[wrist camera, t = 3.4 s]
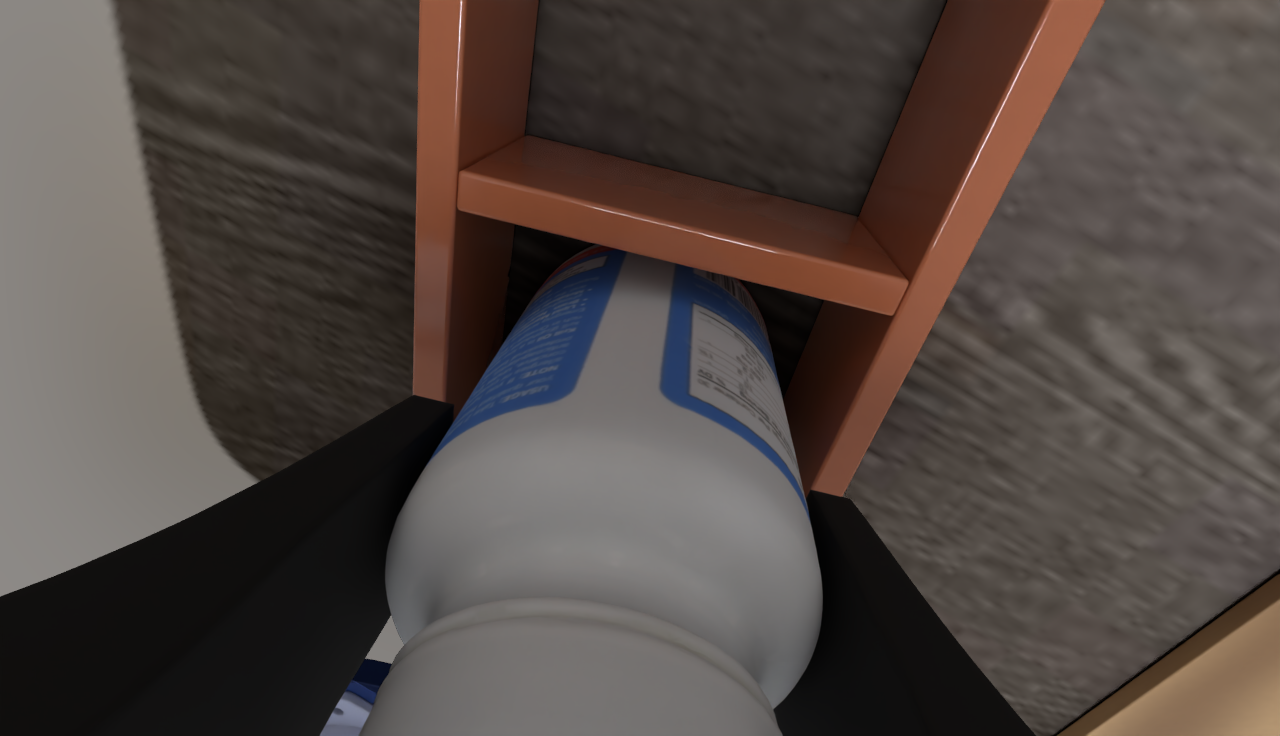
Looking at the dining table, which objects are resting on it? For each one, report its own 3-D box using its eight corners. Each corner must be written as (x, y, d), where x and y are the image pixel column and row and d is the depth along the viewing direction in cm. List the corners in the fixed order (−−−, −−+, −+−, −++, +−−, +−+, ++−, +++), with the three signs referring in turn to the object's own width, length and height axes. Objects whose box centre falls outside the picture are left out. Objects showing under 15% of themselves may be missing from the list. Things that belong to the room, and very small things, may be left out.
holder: (760, 510, 15) (773, 628, 12) (469, 441, 15) (409, 543, 12) (1121, -305, 8) (1390, -529, 5) (542, -459, 8) (430, -792, 4)
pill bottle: (535, 433, 15) (299, 966, 6) (522, 221, 12) (77, 656, 4) (754, 453, 14) (816, 1052, 6) (790, 239, 12) (999, 776, 3)
